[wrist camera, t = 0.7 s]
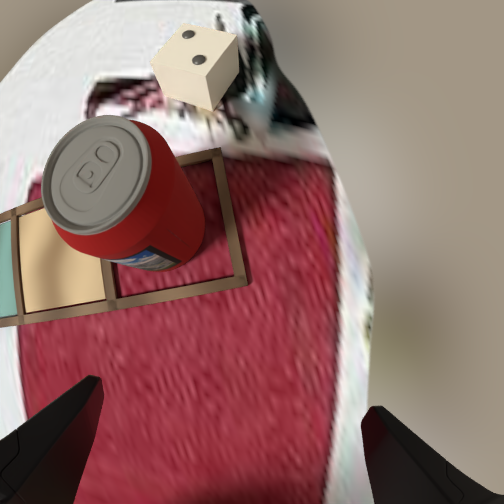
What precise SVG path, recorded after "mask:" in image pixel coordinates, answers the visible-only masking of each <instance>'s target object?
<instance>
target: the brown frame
mask: <svg viewBox="0 0 504 504" xmlns="http://www.w3.org/2000/svg"><path fill="white" fill-rule="evenodd" d="M175 158H176V160H177V161H178V163H179V165H180V167H184V166H189V165H193V164H198V163H202V162H207V161H213V166H214V172H215V177H216V183H217V188H218V193H219V199H220V204H221V209H222V215H223V220H224V225H225V230H226V236H227V241H228V246H229V251H230V256H231V261H232V266H233V271H234V277H229V278H224V279H219V280H214V281H209V282H204V283H199V284H194V285H189V286H184V287H178V288H173V289H168V290H163V291H157V292H152V293H147V294H141V295H136V296H130V297H125V298H120V299H118V297H117V291H116V284H115V278H114V271H113V264H112V262H111V261H107V260H104V259H101V258H97V257H94V256H91V255H87V254H84V253H81V252H79V251H77V250H75V249H73V248H72V247H70V246H69V245H68V244H67V243H66V242H65V241H64V240H63V239H62V238H61V237H60V235H59V234H58V232H57V231H56V229H55V227H54V225H53V222H52V220H51V218H50V217H49V215H48V214H47V212H46V210H45V208H44V209H41V210H38V211H35V212H33V213H30V214H27V215H24V216H22V217H19V216H21V215H23V214H26V213H29V212H32V211H34V210H37V209H40V208H43V207H44V204H43V200H42V198H39V199H36V200H34V201H31V202H29V203H26V204H23V205H21V206H18V207H16V208H13V209H11V210H9V211H6V212H4V213H1V214H0V223H3V222H5V221H8V220H10V219H11V221H9V222H6V223H3V224H1V225H0V317H3V316H9V315H15V314H17V315H18V316H15V317H9V318H2V319H0V328H1V327H8V326H16V325H23V324H30V323H37V322H44V321H51V320H57V319H64V318H70V317H77V316H83V315H89V314H95V313H101V312H108V311H113V310H119V309H125V308H131V307H137V306H143V305H148V304H154V303H159V302H165V301H170V300H176V299H181V298H187V297H192V296H197V295H202V294H208V293H213V292H218V291H223V290H228V289H233V288H238V287H243V286H248V283H247V278H246V273H245V268H244V263H243V258H242V253H241V248H240V243H239V238H238V233H237V228H236V223H235V218H234V213H233V208H232V203H231V198H230V193H229V188H228V183H227V178H226V173H225V167H224V162H223V157H222V152H221V147H219V148H214V149H209V150H205V151H200V152H196V153H191V154H187V155H183V156H178V157H175ZM19 238H20V250H19ZM20 259H21V266H20ZM101 264H102V265H101ZM21 273H22V278H21ZM22 283H23V288H22ZM23 292H24V297H23ZM105 292H106V293H105ZM101 299H107V301H103V302H97V303H92V304H86V305H80V306H74V307H69V308H63V309H57V310H51V311H45V312H39V313H33V314H27V315H26V313H27V312H33V311H39V310H45V309H51V308H56V307H62V306H68V305H74V304H79V303H85V302H90V301H96V300H101ZM24 301H25V305H24ZM25 308H26V312H25Z"/></svg>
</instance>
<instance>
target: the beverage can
mask: <svg viewBox="0 0 504 504" xmlns="http://www.w3.org/2000/svg"><path fill="white" fill-rule="evenodd" d="M41 193H42V200H43V204H44V207H45V210H46V212H47V214H48V215H49V217H50V218H51V220H52V222H53V225H54V227H55V229H56V231H57V232H58V234H59V235H60V237H61V238H62V239H63V240H64V241H65V242H66V243H67V244H68V245H69V246H70V247H72V248H73V249H75V250H77V251H79V252H81V253H84V254H87V255H91V256H94V257H97V258H101V259H104V260H107V261H111V262H115V263H119V264H122V265H126V266H130V267H134V268H139V269H143V270H148V271H153V272H165V271H170V270H173V269H176V268H178V267H180V266H182V265H183V264H185V263H186V262H187V261H189V260H190V259H191V258H192V257H193V256H194V254H195V253H196V252H197V250H198V249H199V247H200V245H201V243H202V240H203V237H204V232H205V216H204V212H203V209H202V206H201V204H200V202H199V200H198V198H197V196H196V194H195V192H194V191H193V189H192V187H191V185H190V183H189V181H188V179H187V177H186V176H185V174H184V172H183V170H182V168H181V167H180V165H179V163H178V161H177V160H176V158H175V156H174V154H173V153H172V151H171V149H170V147H169V146H168V144H167V142H166V141H165V139H164V138H163V137H162V136H161V135H160V134H159V133H158V132H157V131H156V130H155V129H153V128H152V127H150V126H148V125H146V124H144V123H141V122H138V121H134V120H128V119H126V118H123V117H120V116H114V115H103V116H97V117H94V118H91V119H88V120H86V121H84V122H82V123H80V124H78V125H77V126H75V127H74V128H72V129H71V130H70V131H69V132H68V133H66V134H65V135H64V136H63V138H62V139H61V140H60V141H59V142H58V143H57V145H56V146H55V148H54V149H53V151H52V152H51V154H50V156H49V158H48V160H47V163H46V165H45V168H44V172H43V176H42V184H41Z"/></svg>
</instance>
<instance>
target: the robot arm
mask: <svg viewBox="0 0 504 504" xmlns="http://www.w3.org/2000/svg"><path fill="white" fill-rule="evenodd" d="M103 400H104V391H103V385H102V380H101V378H100V377H97V376H94V375H88V376H86V377H85V378H84V379H82V380H81V381H80V382H78V383H77V384H76V385H74V386H73V387H72V388H70V389H69V390H68V391H66V392H65V393H63V394H62V395H61V396H59V397H58V398H57V399H55V400H54V401H53V402H51V403H50V404H49V405H47V406H46V407H45V408H43V409H42V410H41V411H39V412H38V413H37V414H35V415H34V416H33V417H31V418H30V419H29V420H27V421H26V422H25V423H23V424H22V425H21V426H19V427H18V428H17V429H15V430H14V431H13V432H11V433H10V434H9V435H7V436H6V437H4V438H3V439H1V440H0V504H73V502H74V499H75V496H76V493H77V490H78V486H79V483H80V480H81V477H82V474H83V471H84V468H85V465H86V462H87V459H88V456H89V453H90V451H91V448H92V445H93V442H94V439H95V435H96V430H97V426H98V421H99V417H100V413H101V409H102V405H103ZM361 431H362V439H363V447H364V456H365V462H366V467H367V471H368V476H369V480H370V484H371V489H372V494H373V498H374V503H375V504H504V495H500V494H496V493H493V492H491V491H489V490H487V489H486V488H485V487H483V486H482V485H480V484H478V483H477V482H475V481H474V480H472V479H471V478H469V477H468V476H466V475H465V474H464V473H462V472H461V471H459V470H458V469H456V468H455V467H454V466H453V465H452V464H451V463H449V462H448V461H446V459H445V458H443V457H442V456H441V455H440V454H439V453H437V452H436V451H435V450H434V449H433V448H431V447H430V446H429V445H428V444H426V443H425V442H424V441H423V440H422V439H421V438H419V437H418V436H417V435H416V434H415V433H413V432H412V431H411V430H410V429H408V427H407V426H405V425H404V424H403V423H402V422H401V421H400V420H398V419H397V418H396V417H395V416H394V415H393V414H391V413H390V412H389V411H388V410H386V409H385V408H384V407H383V406H372V407H370V408H369V410H368V412H367V413H366V415H365V416H364V418H363V419H362V422H361Z"/></svg>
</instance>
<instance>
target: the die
mask: <svg viewBox="0 0 504 504" xmlns="http://www.w3.org/2000/svg"><path fill="white" fill-rule="evenodd" d="M150 64H151V66H152V68H153V71H154V73H155V75H156V78H157V80H158V82H159V85H160V87H161V90H162V92H163V94H164V96H166V97H170V98H173V99H176V100H179V101H183V102H186V103H189V104H192V105H195V106H198V107H201V108H204V109H207V110H210V111H212V112H213V111H214V109H215V108H216V106H217V104H218V103H219V101H220V100H221V98H222V97H223V95H224V94H225V92H226V91H227V89H228V88H229V86H230V85H231V83H232V82H233V80H234V79H235V77H236V76H237V74H238V73H239V59H238V43H237V35H235V34H231V33H227V32H222V31H218V30H214V29H209V28H205V27H200V26H195V25H190V24H184V23H183V24H182V26H181V27H180V28H179V29H178V30H177V31H176V32H175V33H174V34H173V35H172V37H171V38H170V39H169V40H168V41H167V42H166V43H165V45H164V46H163V47H162V48H161V49H160V50H159V52H158V53H157V54H156V55H155V56H154V58H153V59H152V60H151V61H150Z"/></svg>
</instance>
